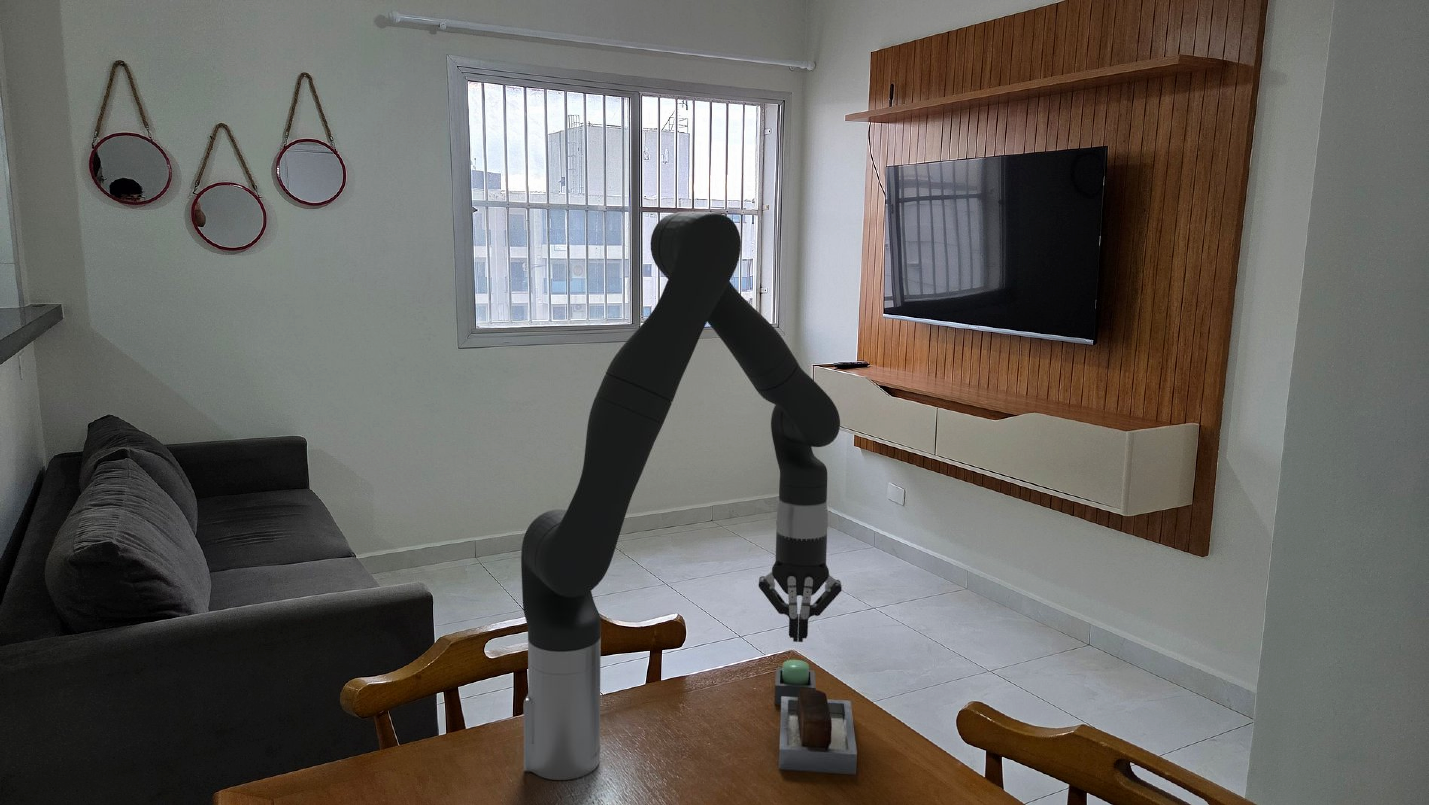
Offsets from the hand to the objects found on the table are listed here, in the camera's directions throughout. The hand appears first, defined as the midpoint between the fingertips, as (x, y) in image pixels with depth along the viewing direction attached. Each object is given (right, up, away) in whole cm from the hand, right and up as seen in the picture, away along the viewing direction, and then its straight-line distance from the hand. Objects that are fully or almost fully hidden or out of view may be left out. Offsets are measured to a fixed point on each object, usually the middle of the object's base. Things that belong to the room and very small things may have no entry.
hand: (798, 639), depth 142 cm
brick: (+1, -10, -12) cm, 16 cm away
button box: (0, -9, +1) cm, 9 cm away
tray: (+1, -11, -12) cm, 17 cm away
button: (0, -6, +1) cm, 7 cm away
